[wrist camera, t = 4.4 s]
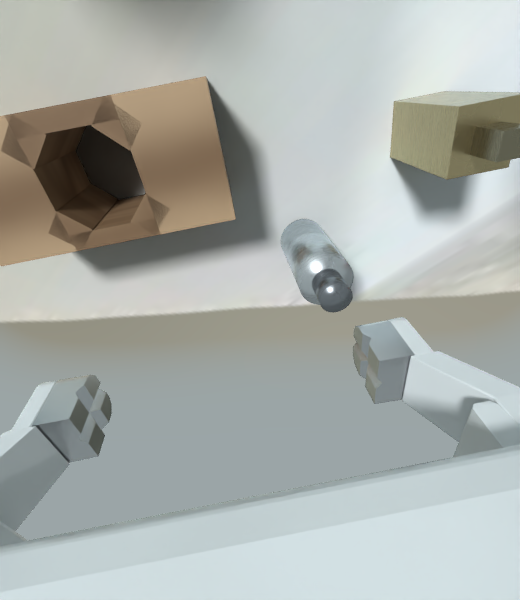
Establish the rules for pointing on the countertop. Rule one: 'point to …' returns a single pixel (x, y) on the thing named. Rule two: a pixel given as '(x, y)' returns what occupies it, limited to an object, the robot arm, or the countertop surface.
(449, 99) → the square bit
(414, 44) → the countertop surface
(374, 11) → the countertop surface
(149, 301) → the countertop surface
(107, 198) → the socket block
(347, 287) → the cylinder
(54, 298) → the countertop surface
